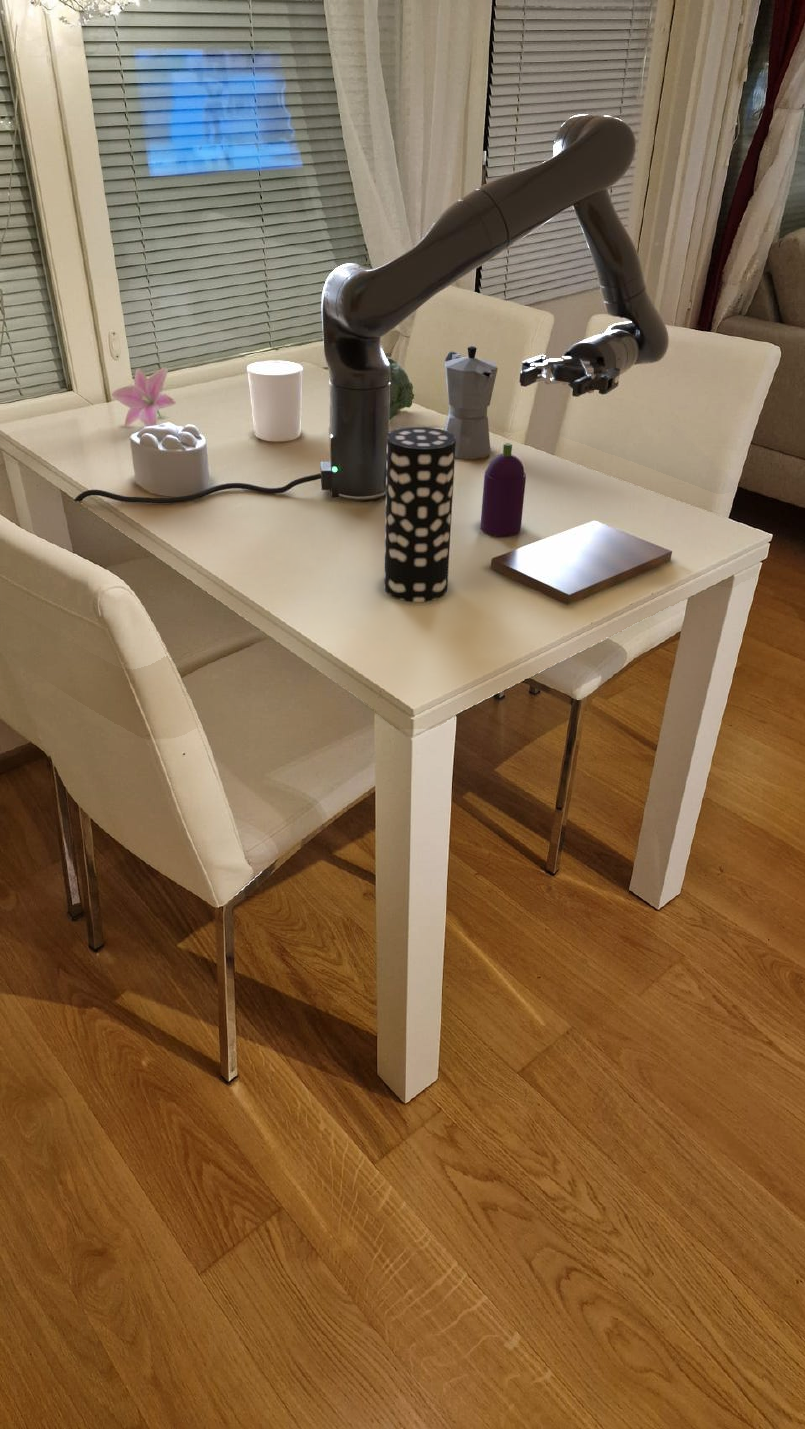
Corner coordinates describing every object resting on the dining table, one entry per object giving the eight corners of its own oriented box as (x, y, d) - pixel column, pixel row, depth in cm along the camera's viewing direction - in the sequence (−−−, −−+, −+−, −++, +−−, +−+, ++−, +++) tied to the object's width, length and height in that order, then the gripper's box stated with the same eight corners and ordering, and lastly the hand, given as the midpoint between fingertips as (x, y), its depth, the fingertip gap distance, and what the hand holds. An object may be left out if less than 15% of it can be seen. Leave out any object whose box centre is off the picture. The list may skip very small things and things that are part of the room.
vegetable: (439, 404, 191) (407, 386, 178) (390, 447, 196) (356, 432, 182) (406, 357, 193) (373, 335, 180) (359, 400, 198) (323, 382, 185)
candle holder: (315, 433, 182) (313, 366, 175) (282, 447, 175) (279, 378, 168) (273, 423, 186) (270, 357, 179) (239, 436, 179) (235, 368, 172)
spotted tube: (382, 574, 132) (384, 427, 121) (443, 573, 133) (451, 427, 122) (386, 602, 125) (389, 449, 114) (450, 601, 126) (460, 449, 115)
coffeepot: (506, 459, 172) (516, 353, 162) (459, 466, 169) (465, 358, 159) (465, 433, 184) (472, 333, 174) (420, 439, 180) (424, 336, 170)
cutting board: (567, 605, 126) (569, 594, 125) (490, 568, 135) (491, 558, 134) (670, 561, 138) (672, 551, 138) (593, 529, 147) (594, 520, 146)
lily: (113, 422, 187) (96, 384, 179) (163, 389, 190) (148, 350, 182) (149, 456, 182) (133, 419, 174) (199, 422, 186) (186, 384, 177)
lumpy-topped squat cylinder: (183, 465, 165) (177, 414, 160) (225, 487, 157) (221, 434, 152) (127, 479, 159) (120, 426, 155) (168, 502, 151) (162, 447, 147)
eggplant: (484, 537, 144) (490, 451, 137) (477, 521, 149) (483, 437, 142) (524, 536, 144) (533, 451, 137) (516, 520, 149) (524, 437, 142)
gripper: (557, 330, 156) (507, 350, 145) (641, 344, 150) (596, 366, 139) (552, 379, 160) (503, 401, 149) (633, 394, 154) (589, 419, 143)
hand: (548, 384), depth 144 cm, fingers open, 8 cm apart
